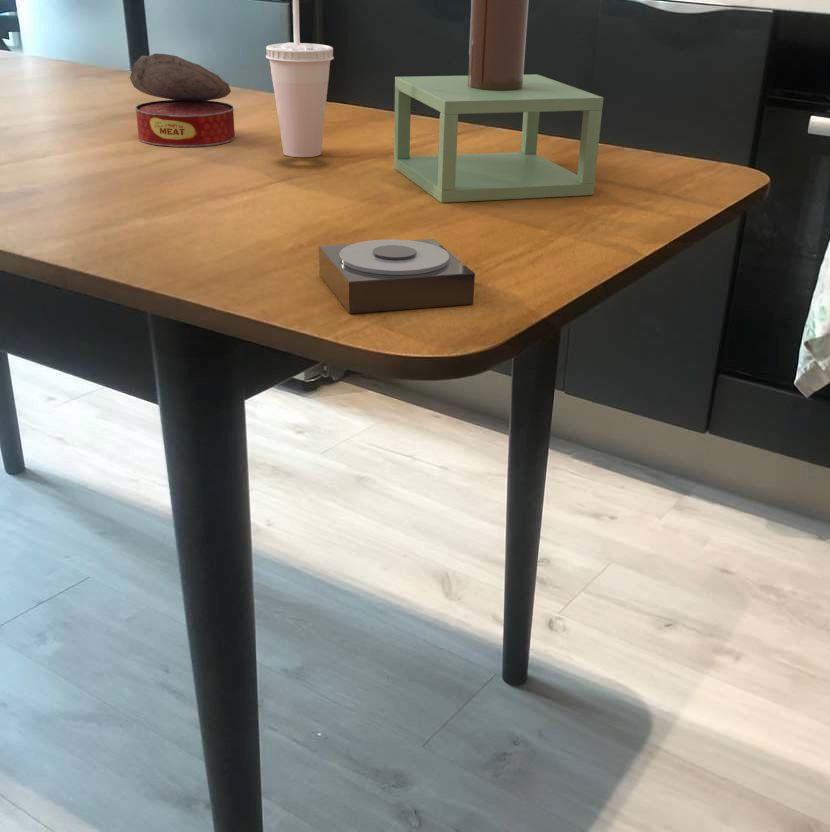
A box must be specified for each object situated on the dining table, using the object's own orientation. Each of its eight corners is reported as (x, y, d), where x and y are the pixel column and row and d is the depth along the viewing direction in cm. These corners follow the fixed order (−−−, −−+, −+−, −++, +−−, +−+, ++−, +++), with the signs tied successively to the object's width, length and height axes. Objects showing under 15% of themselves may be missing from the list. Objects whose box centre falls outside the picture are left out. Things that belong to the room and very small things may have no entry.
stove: (349, 314, 65) (349, 273, 64) (319, 275, 72) (318, 238, 71) (473, 304, 68) (475, 264, 66) (433, 267, 74) (434, 231, 73)
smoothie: (315, 144, 110) (312, -8, 104) (346, 156, 106) (346, -3, 99) (258, 150, 107) (251, -7, 100) (288, 162, 103) (283, -1, 96)
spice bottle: (478, 91, 92) (487, -71, 86) (459, 83, 95) (466, -72, 90) (531, 90, 93) (543, -70, 87) (510, 82, 97) (520, -71, 91)
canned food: (140, 184, 113) (97, 90, 111) (216, 161, 119) (177, 71, 117) (189, 147, 104) (144, 44, 102) (269, 124, 110) (228, 26, 108)
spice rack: (441, 202, 90) (444, 101, 86) (393, 167, 102) (394, 76, 98) (593, 195, 94) (603, 97, 90) (530, 162, 106) (537, 74, 102)
